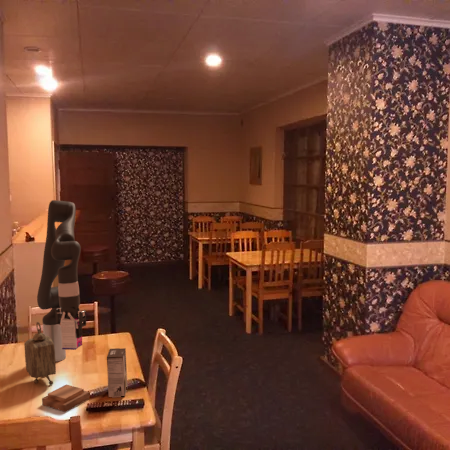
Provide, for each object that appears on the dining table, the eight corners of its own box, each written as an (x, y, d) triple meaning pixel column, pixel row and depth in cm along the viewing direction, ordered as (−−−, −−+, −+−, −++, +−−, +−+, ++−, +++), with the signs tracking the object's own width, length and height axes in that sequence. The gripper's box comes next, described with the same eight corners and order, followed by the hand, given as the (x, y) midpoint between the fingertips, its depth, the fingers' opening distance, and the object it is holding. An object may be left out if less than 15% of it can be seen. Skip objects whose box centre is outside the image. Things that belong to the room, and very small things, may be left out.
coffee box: (111, 387, 199) (109, 348, 197) (127, 386, 200) (126, 347, 198) (108, 398, 190) (106, 356, 188) (125, 397, 191) (123, 356, 189)
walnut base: (42, 404, 186) (41, 394, 185) (67, 392, 196) (66, 382, 195) (65, 411, 180) (65, 401, 179) (89, 398, 190) (89, 388, 190)
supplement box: (76, 349, 189) (74, 320, 188) (61, 349, 190) (59, 320, 189) (83, 344, 195) (81, 315, 194) (69, 344, 196) (67, 315, 195)
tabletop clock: (56, 385, 202) (53, 325, 200) (33, 391, 197) (29, 329, 195) (48, 373, 214) (44, 316, 212) (26, 378, 210) (22, 320, 207)
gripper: (47, 294, 190) (50, 337, 192) (75, 297, 184) (78, 341, 185) (62, 290, 197) (65, 331, 199) (90, 292, 190) (93, 335, 192)
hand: (71, 336), depth 192 cm, fingers closed on supplement box, 6 cm apart
